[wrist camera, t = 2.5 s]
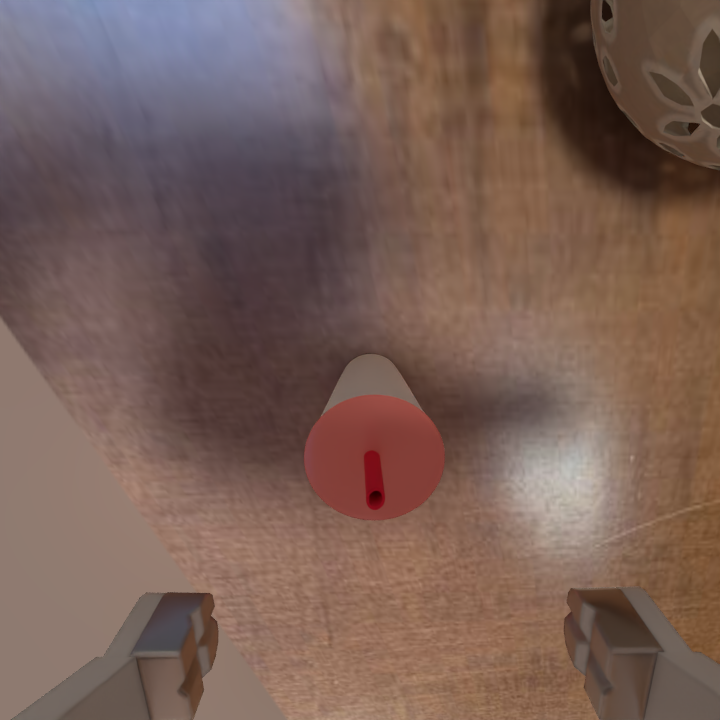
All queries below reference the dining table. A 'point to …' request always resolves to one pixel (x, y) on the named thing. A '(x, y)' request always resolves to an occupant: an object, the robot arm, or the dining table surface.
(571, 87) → the dining table surface
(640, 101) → the ornament
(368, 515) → the cup
